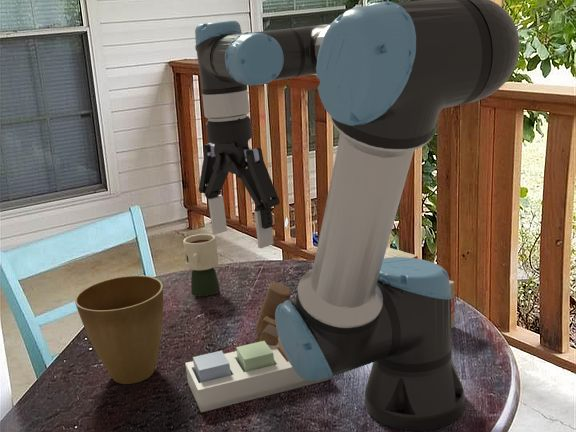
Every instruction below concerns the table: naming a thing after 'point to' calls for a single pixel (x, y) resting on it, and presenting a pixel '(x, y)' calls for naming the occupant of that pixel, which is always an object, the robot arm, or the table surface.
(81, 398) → the table surface
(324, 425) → the table surface
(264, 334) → the wooden block set
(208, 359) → the blue key
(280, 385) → the key console
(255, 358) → the sage key
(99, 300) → the plant pot
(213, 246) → the character mug
